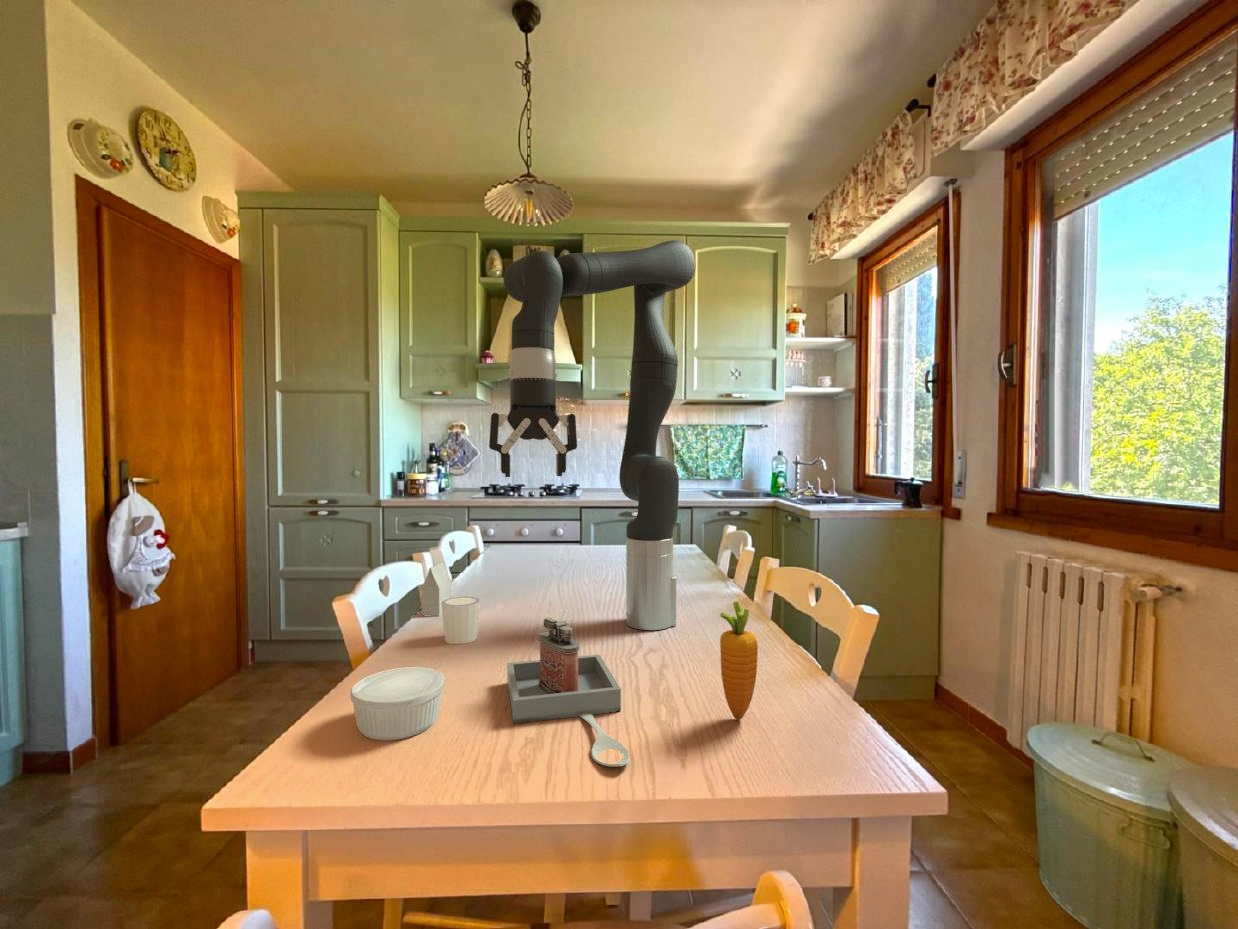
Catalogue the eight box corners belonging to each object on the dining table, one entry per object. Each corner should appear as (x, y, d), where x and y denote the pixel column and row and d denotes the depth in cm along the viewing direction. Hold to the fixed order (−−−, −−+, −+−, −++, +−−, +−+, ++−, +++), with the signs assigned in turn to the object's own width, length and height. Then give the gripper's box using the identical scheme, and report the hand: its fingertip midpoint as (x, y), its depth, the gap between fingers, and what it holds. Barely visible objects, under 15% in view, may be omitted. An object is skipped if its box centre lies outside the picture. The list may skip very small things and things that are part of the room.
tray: (599, 673, 88) (599, 654, 88) (620, 711, 75) (620, 689, 75) (507, 683, 84) (507, 663, 84) (513, 724, 72) (513, 700, 72)
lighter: (585, 699, 78) (585, 626, 77) (564, 706, 76) (564, 631, 75) (553, 680, 84) (553, 613, 84) (533, 686, 82) (533, 617, 82)
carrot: (750, 733, 70) (751, 611, 69) (712, 723, 72) (713, 605, 72) (763, 717, 74) (764, 602, 73) (726, 708, 76) (727, 597, 76)
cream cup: (485, 633, 107) (485, 596, 107) (472, 646, 100) (472, 606, 100) (450, 632, 108) (450, 595, 108) (435, 644, 101) (434, 605, 101)
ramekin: (376, 703, 78) (375, 664, 78) (456, 704, 78) (456, 666, 78) (332, 745, 67) (331, 701, 67) (426, 748, 66) (425, 703, 66)
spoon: (602, 782, 60) (602, 767, 60) (558, 700, 80) (558, 689, 80) (639, 775, 62) (638, 760, 61) (587, 696, 81) (587, 684, 81)
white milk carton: (451, 607, 125) (451, 562, 124) (439, 616, 118) (438, 568, 118) (435, 607, 125) (434, 561, 125) (422, 616, 118) (421, 568, 118)
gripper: (572, 382, 99) (572, 475, 100) (488, 379, 96) (488, 476, 96) (579, 377, 92) (579, 477, 93) (489, 374, 89) (490, 478, 89)
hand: (533, 476), depth 95 cm, fingers open, 8 cm apart
